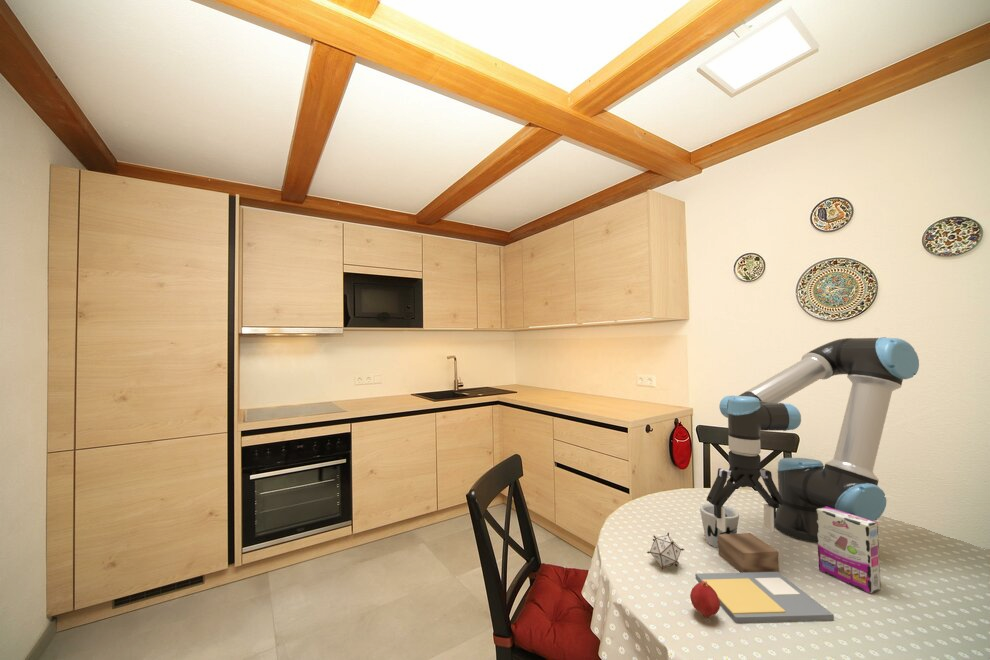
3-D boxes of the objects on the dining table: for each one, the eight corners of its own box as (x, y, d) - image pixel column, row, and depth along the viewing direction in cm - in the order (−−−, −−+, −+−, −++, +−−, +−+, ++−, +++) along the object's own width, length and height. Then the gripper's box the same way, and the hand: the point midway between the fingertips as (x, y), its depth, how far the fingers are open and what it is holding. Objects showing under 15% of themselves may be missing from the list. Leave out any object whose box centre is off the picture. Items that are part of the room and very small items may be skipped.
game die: (673, 582, 104) (690, 565, 99) (642, 568, 106) (657, 549, 100) (672, 552, 111) (688, 533, 106) (643, 538, 113) (657, 520, 108)
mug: (702, 548, 114) (701, 514, 115) (697, 526, 128) (696, 495, 129) (743, 555, 111) (742, 520, 111) (733, 531, 124) (732, 500, 125)
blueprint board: (778, 576, 101) (777, 570, 101) (833, 620, 85) (833, 613, 85) (695, 578, 100) (695, 572, 100) (735, 623, 84) (735, 616, 84)
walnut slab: (750, 553, 112) (750, 532, 112) (779, 574, 102) (778, 551, 102) (718, 555, 111) (717, 534, 111) (743, 576, 101) (743, 553, 101)
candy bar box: (882, 589, 95) (879, 522, 96) (871, 595, 93) (868, 526, 94) (828, 565, 105) (826, 505, 106) (817, 570, 103) (815, 508, 104)
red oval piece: (685, 608, 89) (684, 573, 89) (709, 607, 89) (708, 571, 89) (701, 627, 83) (700, 589, 83) (726, 625, 83) (725, 587, 84)
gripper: (777, 448, 112) (778, 523, 111) (693, 448, 111) (693, 523, 110) (798, 456, 104) (800, 536, 103) (708, 455, 103) (708, 536, 103)
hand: (745, 529), depth 107 cm, fingers open, 13 cm apart
